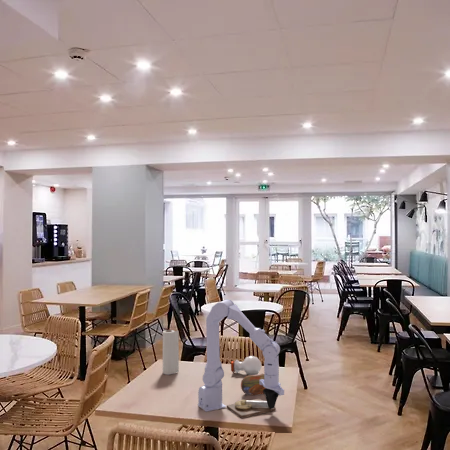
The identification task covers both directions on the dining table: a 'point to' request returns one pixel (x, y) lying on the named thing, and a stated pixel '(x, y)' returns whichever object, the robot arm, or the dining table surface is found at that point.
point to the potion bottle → (247, 365)
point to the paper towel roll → (170, 351)
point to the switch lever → (250, 404)
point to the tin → (252, 385)
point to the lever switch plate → (249, 412)
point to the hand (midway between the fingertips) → (271, 407)
